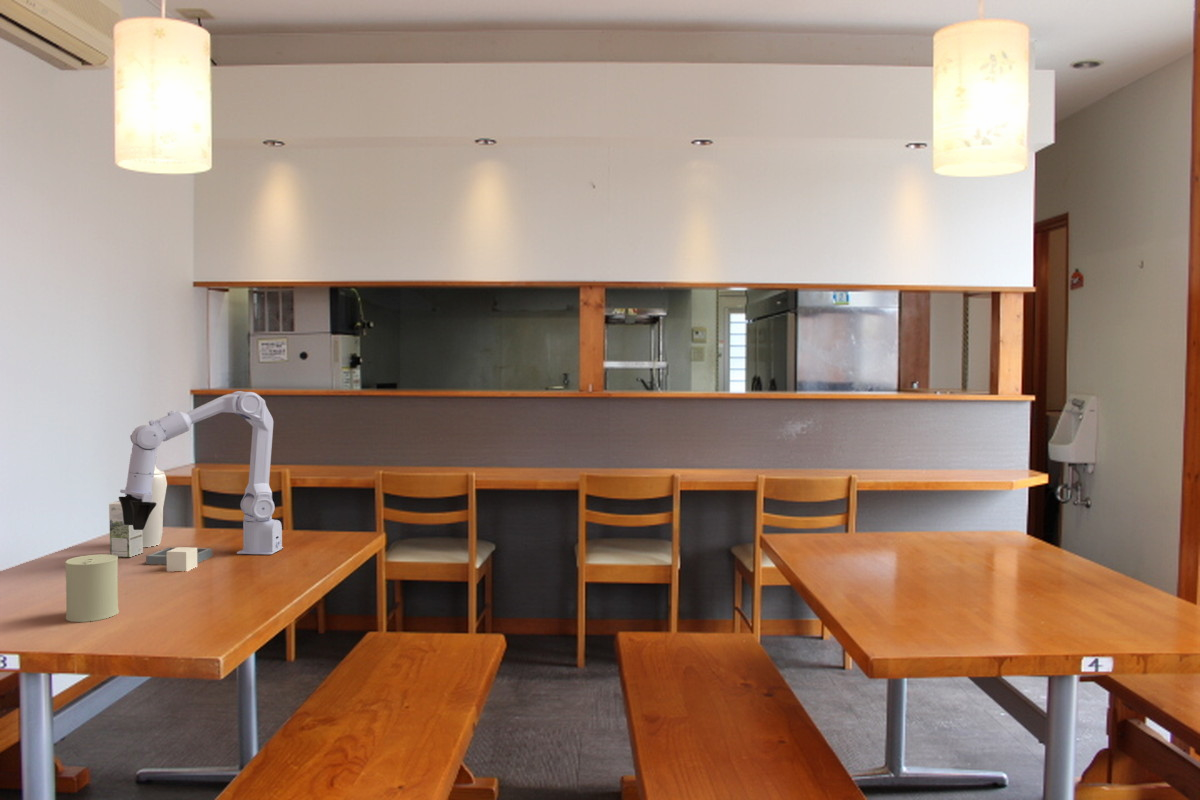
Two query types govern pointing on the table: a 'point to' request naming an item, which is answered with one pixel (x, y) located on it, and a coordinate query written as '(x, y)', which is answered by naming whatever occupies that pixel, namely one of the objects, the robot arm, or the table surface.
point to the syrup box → (123, 534)
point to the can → (91, 587)
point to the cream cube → (181, 559)
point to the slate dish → (161, 555)
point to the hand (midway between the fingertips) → (133, 527)
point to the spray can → (155, 511)
